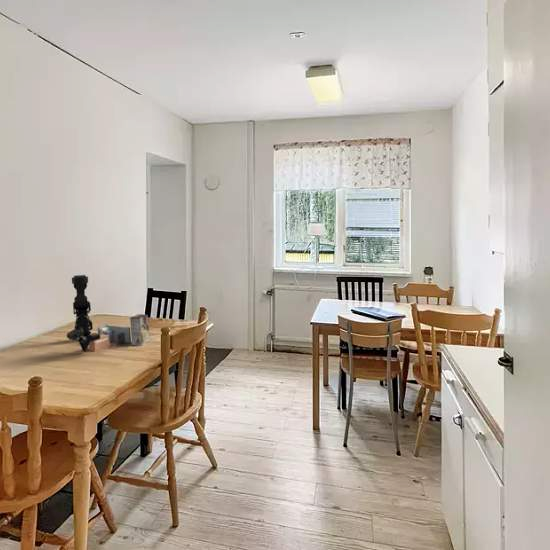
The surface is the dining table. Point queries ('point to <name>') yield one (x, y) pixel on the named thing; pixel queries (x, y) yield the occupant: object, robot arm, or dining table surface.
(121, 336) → the bookend
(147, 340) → the coffee box
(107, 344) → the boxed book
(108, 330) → the shelf
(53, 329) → the dining table surface
